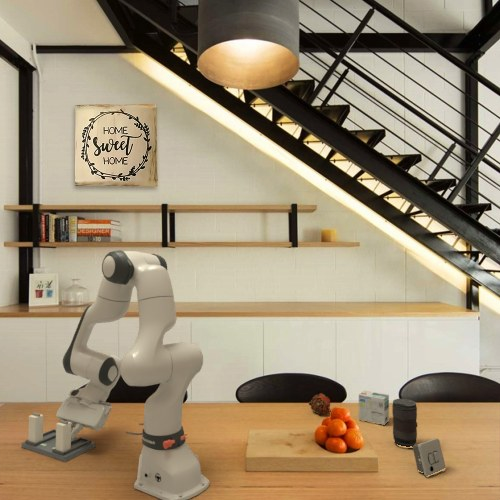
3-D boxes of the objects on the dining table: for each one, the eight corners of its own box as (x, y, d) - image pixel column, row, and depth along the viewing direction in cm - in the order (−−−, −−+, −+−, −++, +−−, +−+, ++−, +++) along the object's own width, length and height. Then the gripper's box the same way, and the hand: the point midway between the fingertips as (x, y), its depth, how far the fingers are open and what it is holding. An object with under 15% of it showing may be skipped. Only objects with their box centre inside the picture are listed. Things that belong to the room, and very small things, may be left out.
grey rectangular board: (95, 447, 145) (95, 440, 145) (65, 461, 135) (65, 454, 135) (52, 434, 155) (52, 428, 156) (21, 447, 145) (21, 440, 145)
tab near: (70, 450, 139) (71, 420, 139) (62, 453, 136) (63, 423, 137) (63, 447, 141) (63, 418, 141) (55, 451, 138) (56, 421, 138)
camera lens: (396, 437, 154) (396, 396, 154) (419, 443, 149) (419, 401, 150) (389, 445, 148) (389, 402, 148) (413, 452, 143) (413, 407, 143)
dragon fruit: (321, 422, 172) (316, 415, 184) (337, 409, 173) (331, 403, 185) (308, 404, 174) (304, 399, 185) (325, 392, 174) (320, 387, 186)
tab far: (42, 441, 146) (43, 413, 146) (35, 444, 143) (35, 415, 143) (36, 439, 147) (36, 411, 148) (28, 442, 145) (28, 414, 145)
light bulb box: (389, 421, 170) (389, 394, 170) (385, 426, 165) (385, 398, 165) (363, 415, 176) (363, 389, 176) (358, 420, 170) (358, 393, 171)
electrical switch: (427, 479, 126) (424, 446, 126) (412, 473, 130) (410, 441, 131) (446, 471, 130) (444, 439, 131) (432, 465, 135) (429, 435, 136)
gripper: (118, 408, 146) (96, 448, 138) (77, 398, 156) (54, 435, 147) (108, 399, 143) (85, 439, 134) (67, 389, 152) (42, 426, 143)
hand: (68, 437), depth 141 cm, fingers closed, pressing on tab near
